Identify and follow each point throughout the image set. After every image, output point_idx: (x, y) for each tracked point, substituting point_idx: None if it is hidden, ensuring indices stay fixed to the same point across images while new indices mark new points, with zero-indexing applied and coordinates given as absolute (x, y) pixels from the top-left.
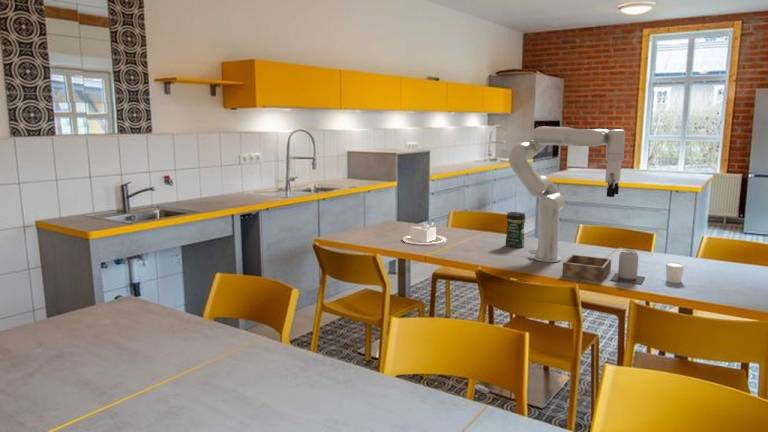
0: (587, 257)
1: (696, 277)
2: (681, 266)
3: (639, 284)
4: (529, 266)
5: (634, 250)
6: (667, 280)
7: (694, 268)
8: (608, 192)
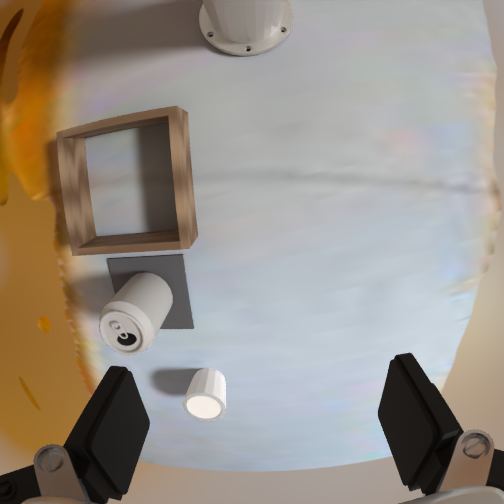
0: (172, 165)
1: (269, 409)
2: (196, 417)
3: None
4: (129, 16)
5: (142, 347)
6: (197, 371)
7: (353, 395)
8: (82, 412)
